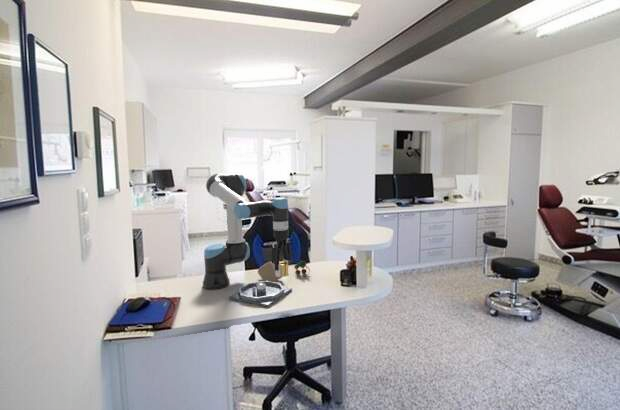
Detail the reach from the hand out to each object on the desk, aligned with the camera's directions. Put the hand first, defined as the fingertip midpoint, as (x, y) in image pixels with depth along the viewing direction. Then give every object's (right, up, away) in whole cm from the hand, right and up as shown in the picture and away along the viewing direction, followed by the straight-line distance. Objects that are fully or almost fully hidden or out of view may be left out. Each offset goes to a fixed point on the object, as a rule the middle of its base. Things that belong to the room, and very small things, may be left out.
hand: (282, 274), depth 168 cm
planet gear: (0, 0, 0) cm, 0 cm away
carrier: (-12, -14, +11) cm, 21 cm away
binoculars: (+9, -9, +43) cm, 45 cm away
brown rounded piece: (-9, -11, +34) cm, 37 cm away
